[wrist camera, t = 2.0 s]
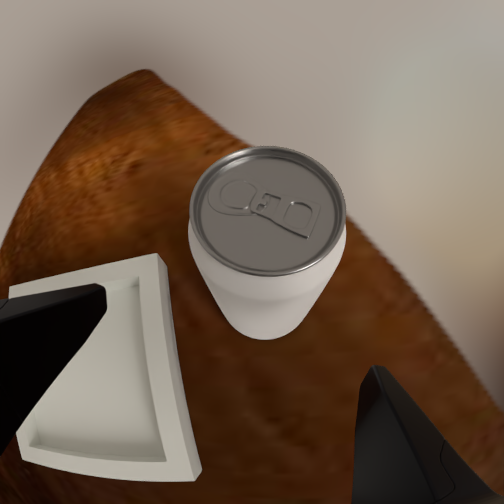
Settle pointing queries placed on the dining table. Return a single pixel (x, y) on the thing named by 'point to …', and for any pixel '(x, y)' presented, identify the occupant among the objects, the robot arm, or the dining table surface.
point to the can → (266, 236)
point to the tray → (117, 384)
